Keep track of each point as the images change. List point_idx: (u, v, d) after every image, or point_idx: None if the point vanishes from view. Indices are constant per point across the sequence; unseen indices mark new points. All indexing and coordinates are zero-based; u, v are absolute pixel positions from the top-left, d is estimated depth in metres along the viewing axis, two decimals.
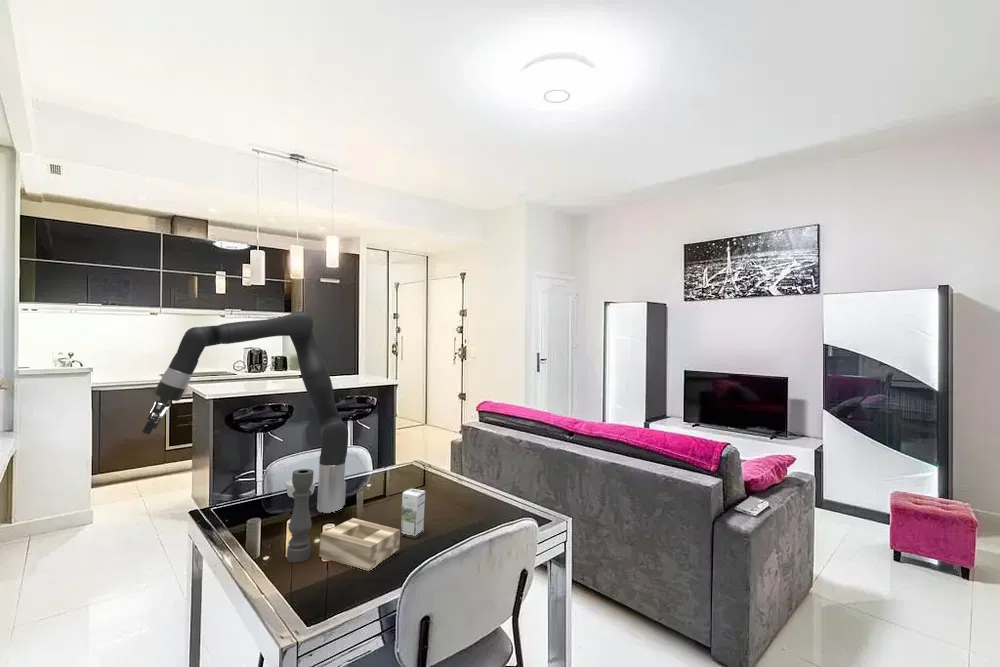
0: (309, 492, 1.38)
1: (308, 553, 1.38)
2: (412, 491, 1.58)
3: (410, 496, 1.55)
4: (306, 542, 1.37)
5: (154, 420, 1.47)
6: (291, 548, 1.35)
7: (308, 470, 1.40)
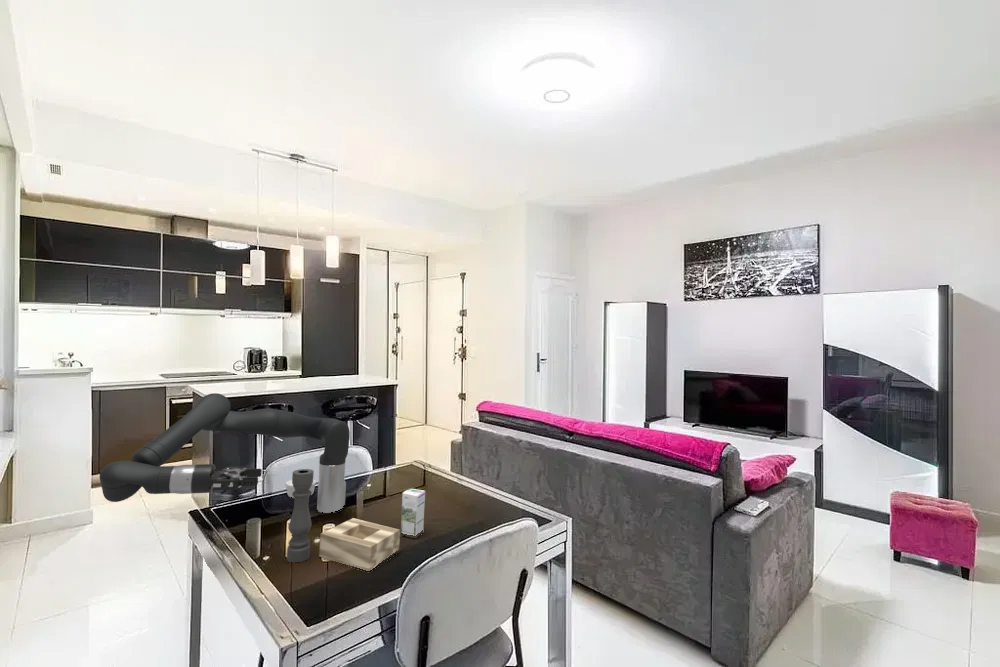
0: (309, 492, 1.38)
1: (308, 553, 1.38)
2: (412, 491, 1.58)
3: (410, 496, 1.55)
4: (306, 542, 1.37)
5: (235, 482, 1.25)
6: (291, 548, 1.35)
7: (308, 470, 1.40)
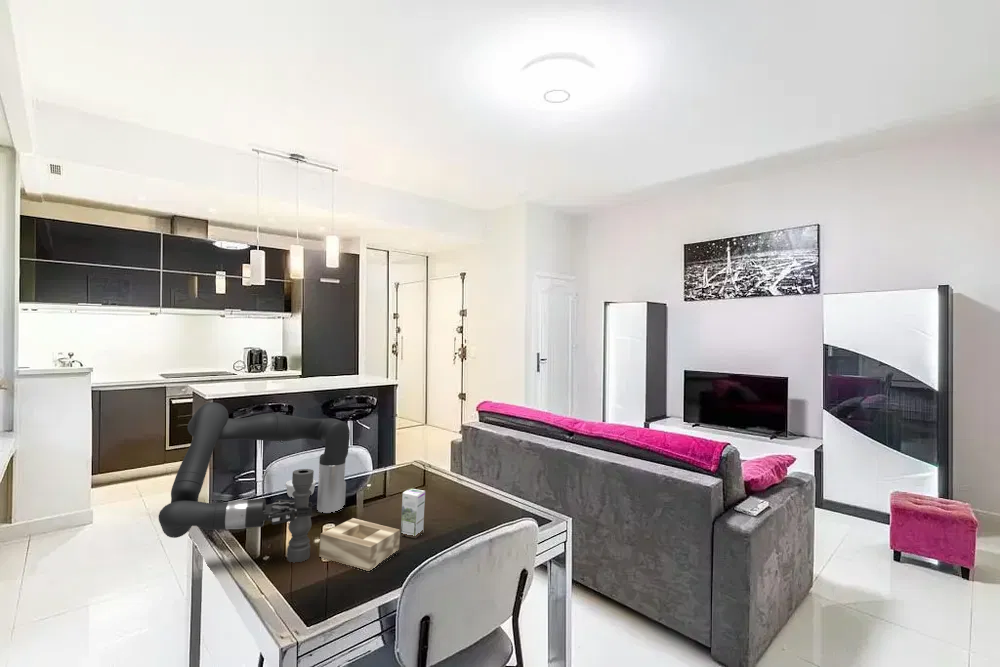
0: (309, 492, 1.38)
1: (308, 553, 1.38)
2: (412, 491, 1.58)
3: (410, 496, 1.55)
4: (306, 542, 1.37)
5: (292, 514, 1.33)
6: (291, 548, 1.35)
7: (308, 470, 1.40)
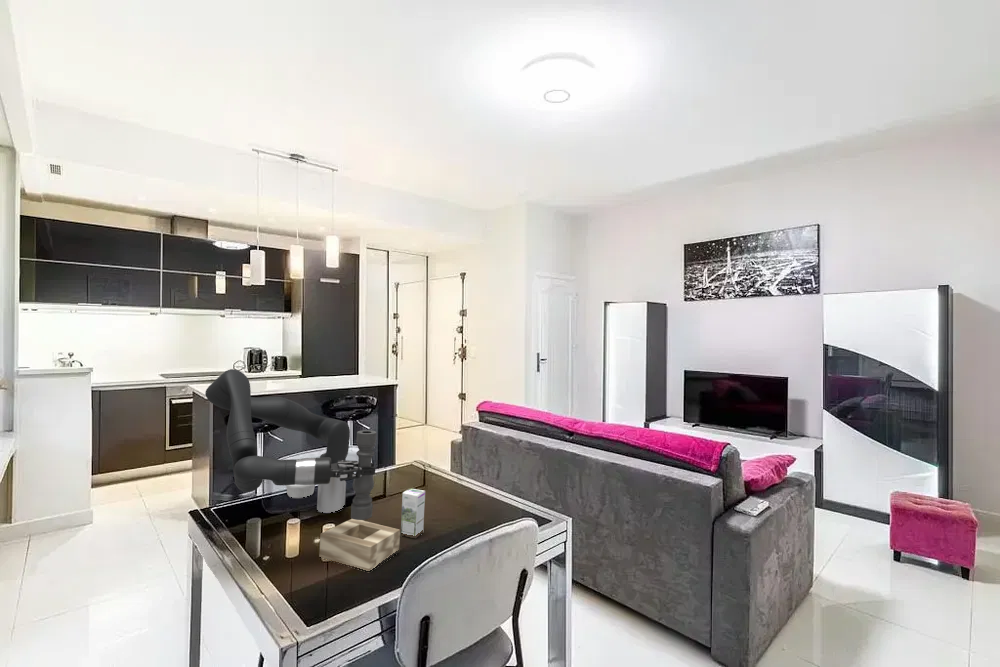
0: (373, 452, 1.41)
1: (371, 511, 1.41)
2: (412, 491, 1.58)
3: (410, 496, 1.55)
4: (369, 500, 1.40)
5: (358, 471, 1.36)
6: (356, 506, 1.39)
7: (371, 431, 1.44)
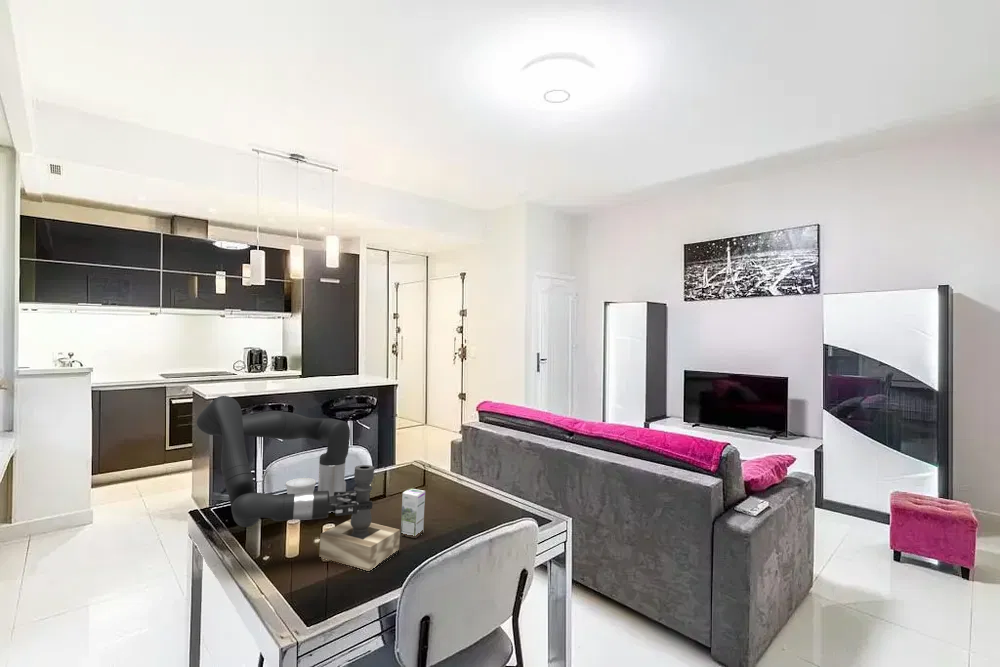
0: (370, 488, 1.41)
1: None
2: (412, 491, 1.58)
3: (410, 496, 1.55)
4: (367, 536, 1.40)
5: (355, 507, 1.35)
6: None
7: (369, 466, 1.44)
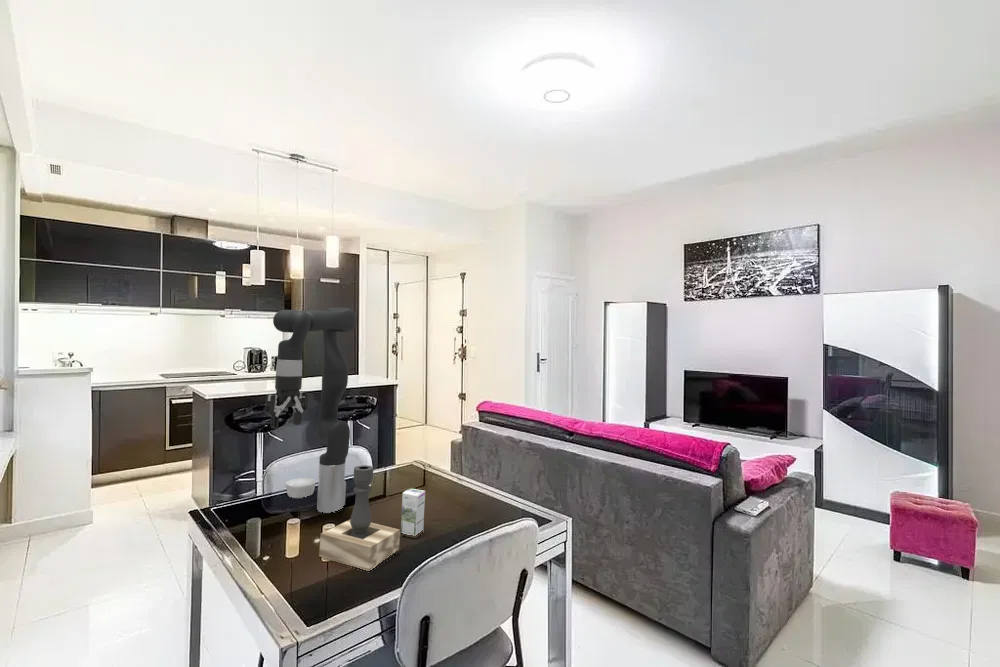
0: (370, 488, 1.41)
1: None
2: (412, 491, 1.58)
3: (410, 496, 1.55)
4: (367, 536, 1.40)
5: (269, 413, 1.40)
6: None
7: (368, 466, 1.43)
